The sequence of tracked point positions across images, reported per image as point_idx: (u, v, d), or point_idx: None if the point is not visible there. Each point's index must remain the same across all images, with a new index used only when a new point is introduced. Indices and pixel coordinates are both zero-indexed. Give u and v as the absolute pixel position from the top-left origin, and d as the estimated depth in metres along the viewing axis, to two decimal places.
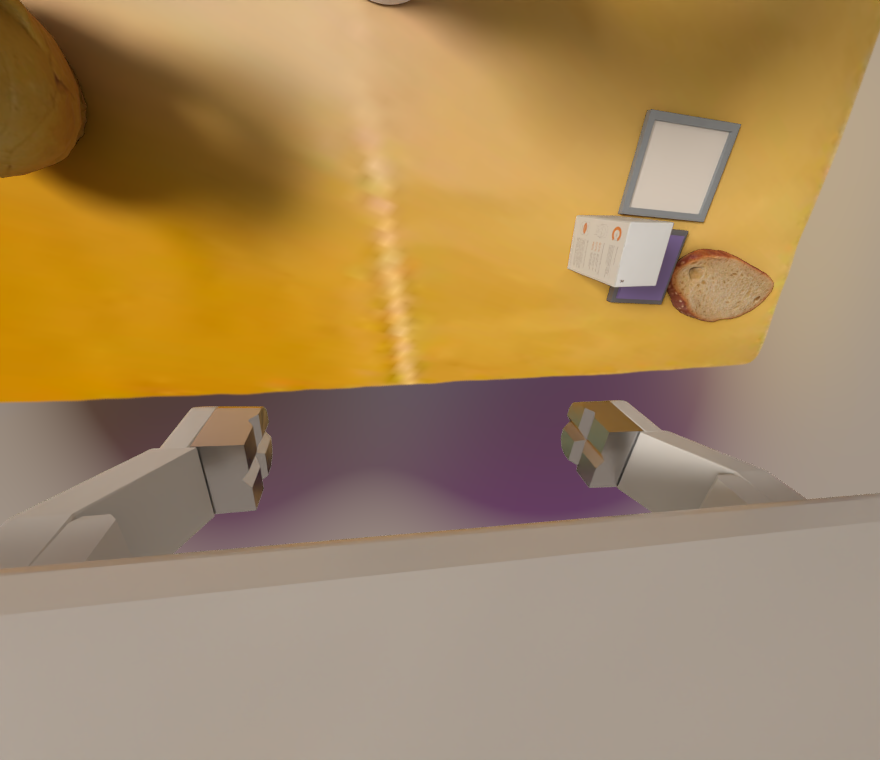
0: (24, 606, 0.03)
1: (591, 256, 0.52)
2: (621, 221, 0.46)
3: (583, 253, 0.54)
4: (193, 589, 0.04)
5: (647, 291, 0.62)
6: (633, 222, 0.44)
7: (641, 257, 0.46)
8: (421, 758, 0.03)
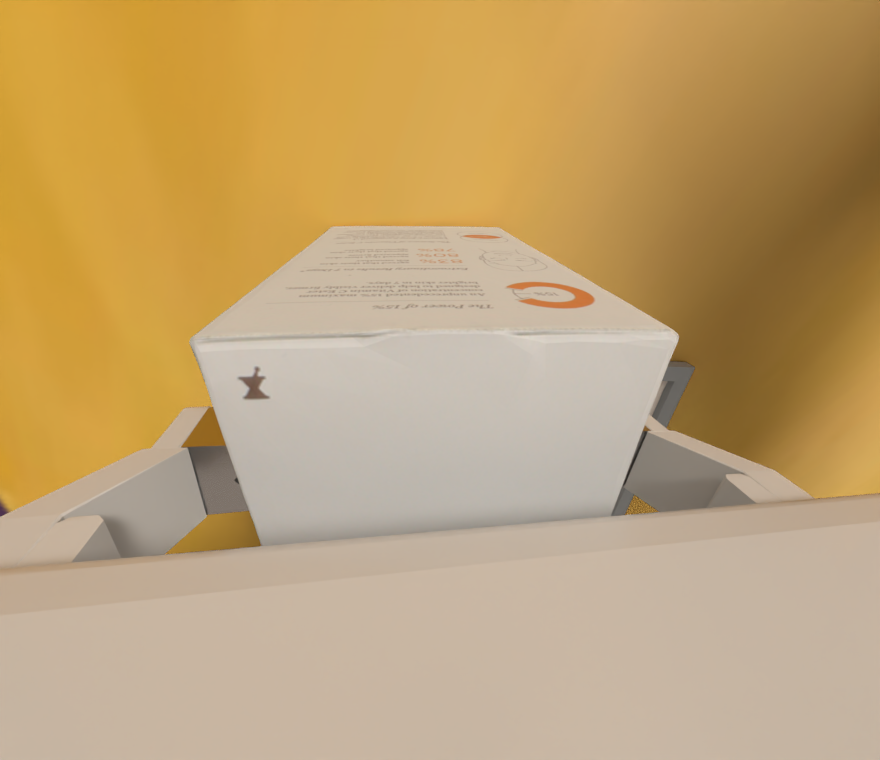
0: (24, 606, 0.03)
1: (392, 250, 0.11)
2: None
3: (394, 239, 0.13)
4: (194, 590, 0.04)
5: None
6: (670, 355, 0.06)
7: (436, 465, 0.07)
8: (421, 758, 0.03)
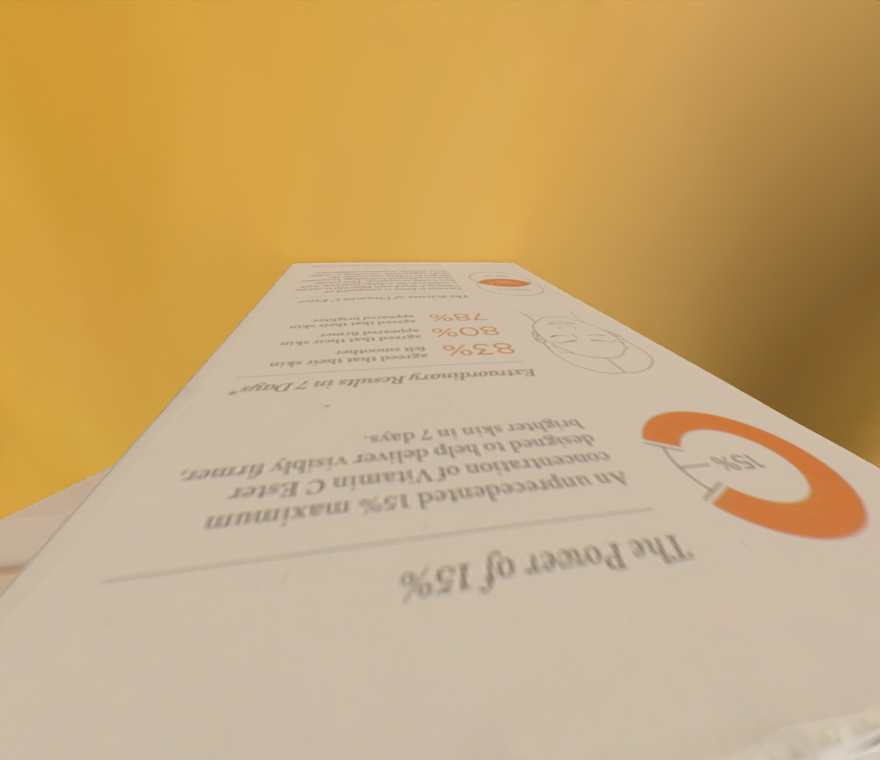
0: None
1: (390, 321, 0.07)
2: (874, 470, 0.04)
3: (387, 291, 0.09)
4: None
5: None
6: None
7: None
8: None
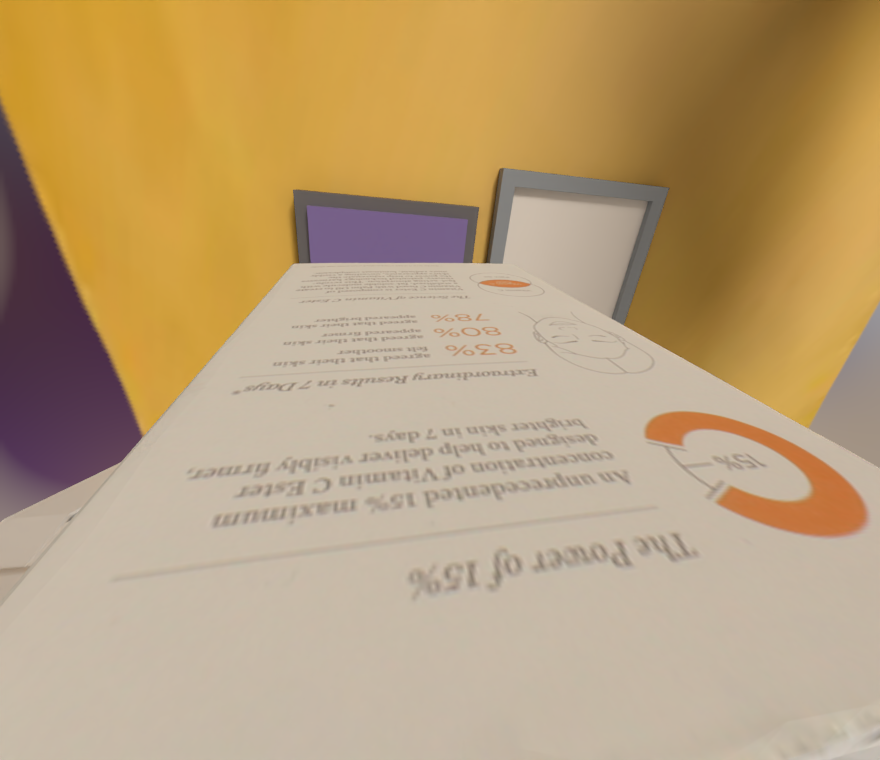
0: None
1: (392, 322, 0.07)
2: (874, 469, 0.04)
3: (388, 291, 0.09)
4: None
5: None
6: None
7: None
8: None
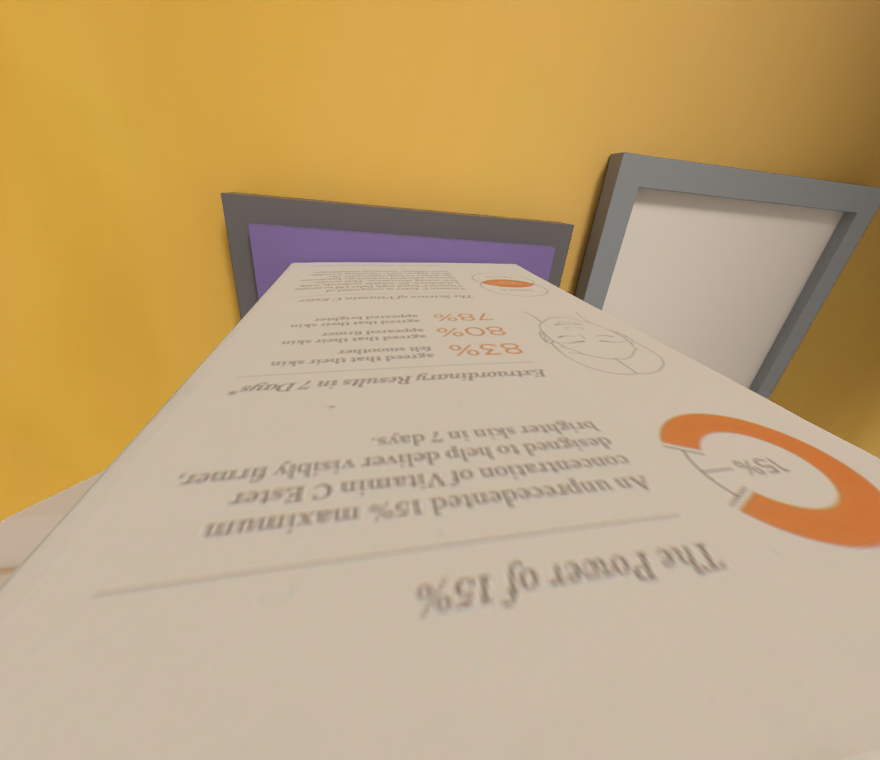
0: None
1: (394, 321, 0.07)
2: None
3: (389, 291, 0.09)
4: None
5: None
6: None
7: None
8: None
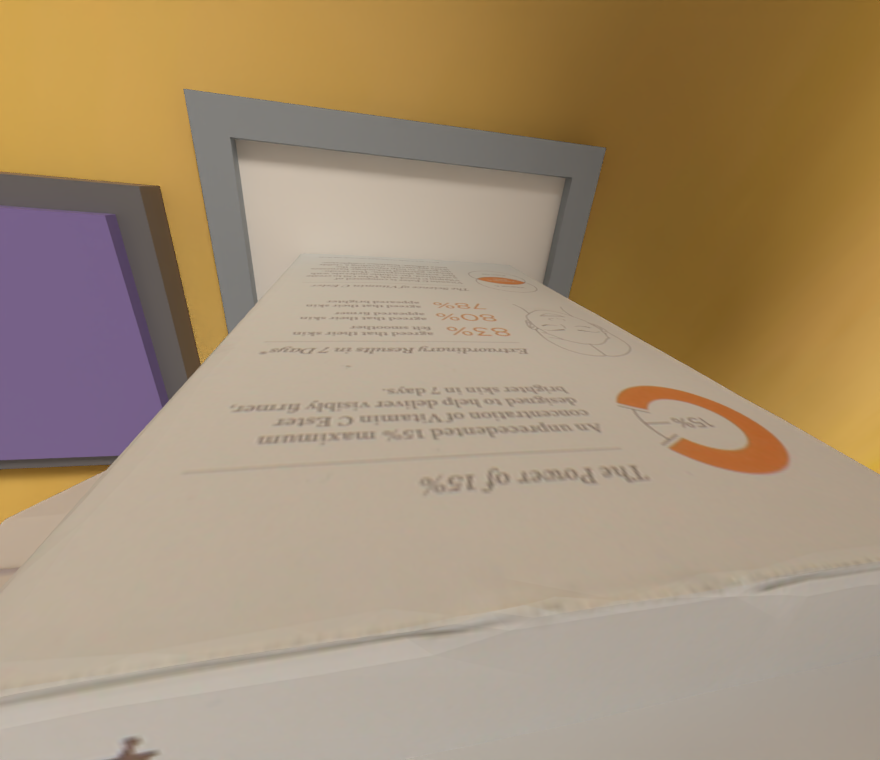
0: None
1: (398, 306, 0.08)
2: None
3: (392, 282, 0.10)
4: None
5: None
6: None
7: None
8: (421, 757, 0.03)
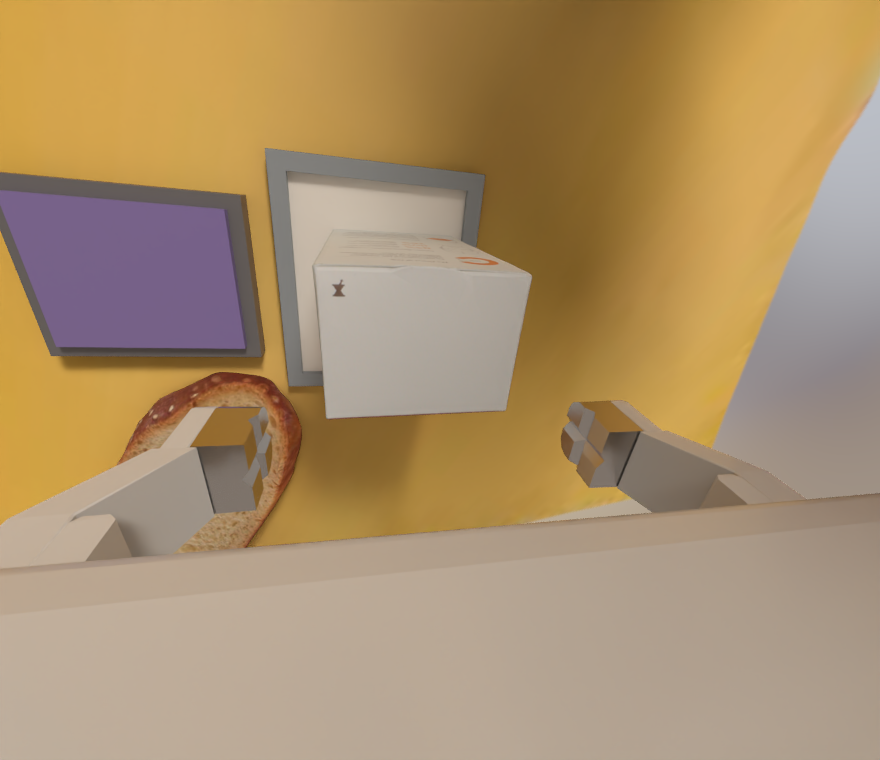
0: (24, 606, 0.03)
1: (386, 242, 0.18)
2: None
3: (384, 237, 0.20)
4: (193, 590, 0.04)
5: (65, 294, 0.21)
6: (528, 285, 0.14)
7: (421, 340, 0.14)
8: (421, 758, 0.03)
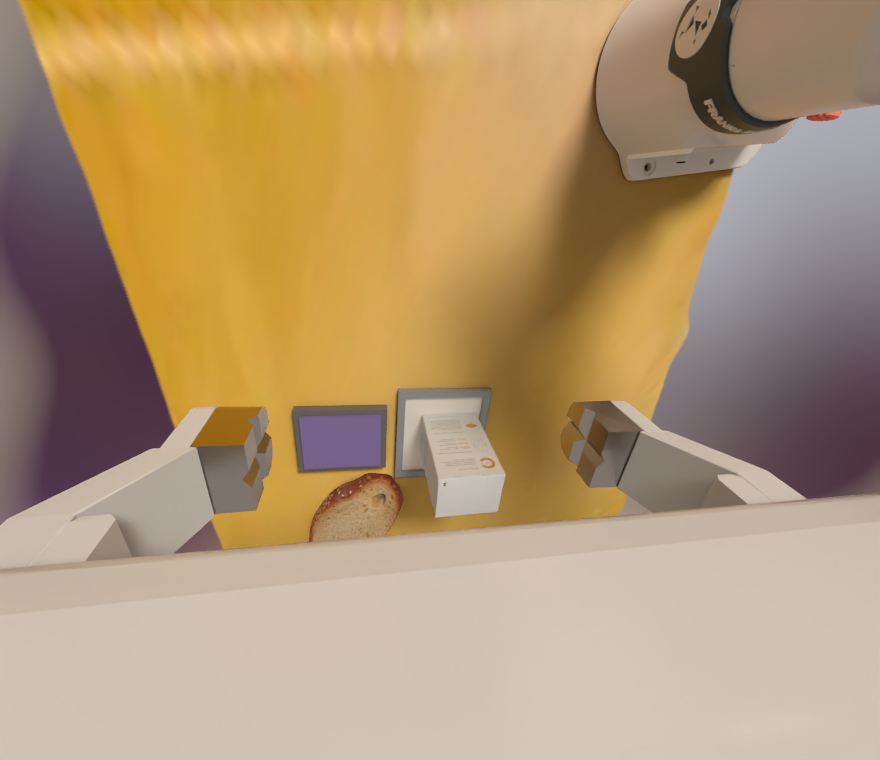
0: (24, 606, 0.03)
1: (451, 440, 0.46)
2: (500, 464, 0.43)
3: (448, 430, 0.48)
4: (193, 590, 0.04)
5: (313, 450, 0.49)
6: (504, 477, 0.42)
7: (468, 494, 0.42)
8: (421, 758, 0.03)
